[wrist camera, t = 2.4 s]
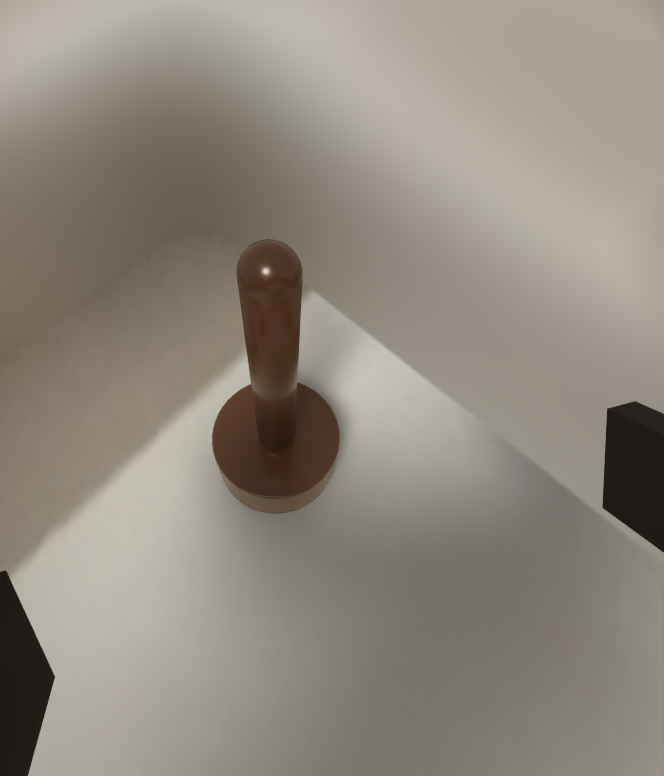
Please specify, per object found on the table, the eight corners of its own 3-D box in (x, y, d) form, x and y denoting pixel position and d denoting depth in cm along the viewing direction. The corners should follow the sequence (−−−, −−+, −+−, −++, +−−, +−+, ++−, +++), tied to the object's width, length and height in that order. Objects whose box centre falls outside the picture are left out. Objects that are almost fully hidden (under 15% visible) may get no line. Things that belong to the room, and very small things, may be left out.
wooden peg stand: (196, 477, 25) (90, 284, 12) (258, 385, 28) (232, 133, 14) (298, 535, 25) (315, 403, 11) (353, 436, 27) (426, 223, 13)
